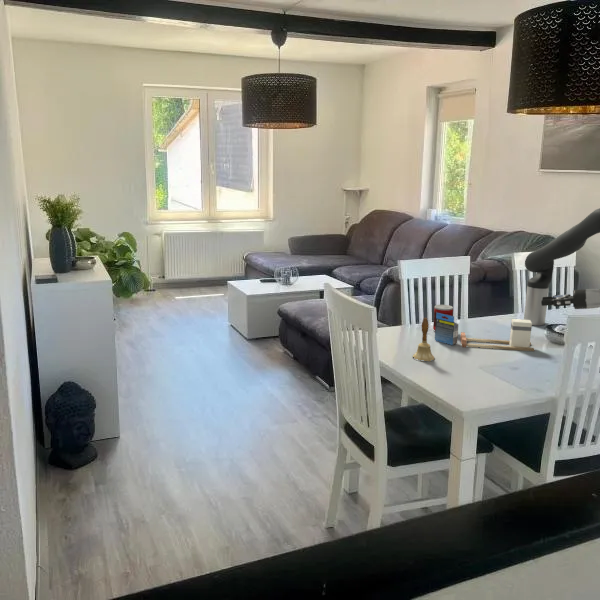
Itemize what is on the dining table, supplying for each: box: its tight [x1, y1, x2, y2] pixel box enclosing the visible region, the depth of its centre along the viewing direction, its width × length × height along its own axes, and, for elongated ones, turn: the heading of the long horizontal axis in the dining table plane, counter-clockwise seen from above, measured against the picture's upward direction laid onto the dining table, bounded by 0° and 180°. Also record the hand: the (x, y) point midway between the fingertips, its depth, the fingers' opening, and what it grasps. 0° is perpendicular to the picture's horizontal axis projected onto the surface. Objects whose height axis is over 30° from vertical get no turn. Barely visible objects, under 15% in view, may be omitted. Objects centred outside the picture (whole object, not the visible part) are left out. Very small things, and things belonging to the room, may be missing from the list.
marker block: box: [508, 318, 533, 347], centre depth 242 cm, size 5×7×11 cm, turn 79°
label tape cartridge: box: [434, 312, 459, 346], centre depth 247 cm, size 9×4×12 cm, turn 43°
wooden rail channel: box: [459, 331, 535, 352], centre depth 244 cm, size 11×28×3 cm, turn 79°
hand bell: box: [412, 317, 435, 362], centre depth 228 cm, size 8×8×16 cm
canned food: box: [432, 304, 454, 331], centre depth 263 cm, size 8×8×11 cm
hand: (542, 301), depth 238 cm, fingers open, 8 cm apart
